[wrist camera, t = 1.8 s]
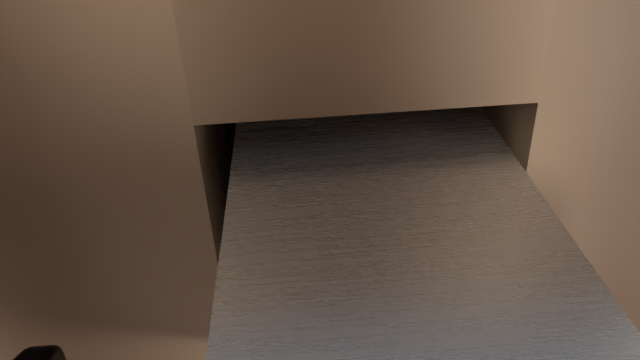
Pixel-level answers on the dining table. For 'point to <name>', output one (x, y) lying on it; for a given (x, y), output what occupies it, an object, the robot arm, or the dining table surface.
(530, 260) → the steel peg
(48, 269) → the walnut socket block
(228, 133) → the dining table surface
